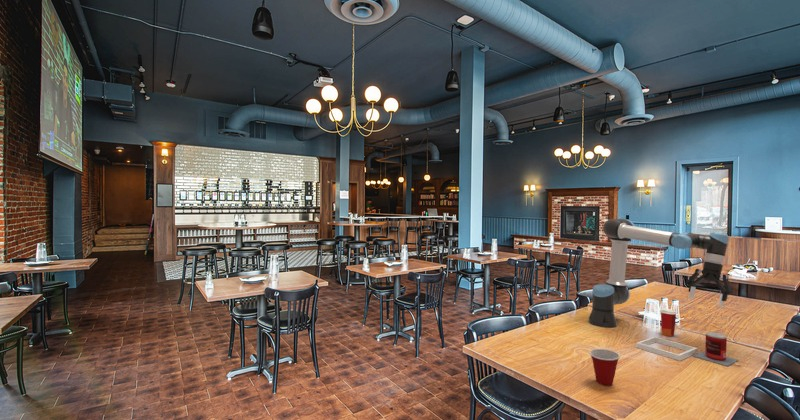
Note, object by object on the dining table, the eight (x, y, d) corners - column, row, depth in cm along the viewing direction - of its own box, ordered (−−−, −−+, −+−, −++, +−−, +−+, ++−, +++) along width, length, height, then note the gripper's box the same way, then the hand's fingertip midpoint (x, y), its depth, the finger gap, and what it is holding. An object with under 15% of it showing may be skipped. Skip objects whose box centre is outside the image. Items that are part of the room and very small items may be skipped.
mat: (693, 356, 180) (693, 355, 180) (704, 351, 187) (704, 350, 187) (727, 366, 169) (727, 365, 169) (738, 360, 176) (738, 359, 176)
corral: (636, 347, 191) (636, 342, 191) (654, 341, 201) (654, 336, 201) (679, 360, 175) (679, 355, 175) (697, 353, 185) (697, 348, 185)
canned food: (721, 355, 181) (721, 333, 181) (729, 362, 173) (730, 338, 173) (702, 353, 183) (702, 331, 183) (709, 359, 176) (710, 336, 176)
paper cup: (670, 332, 215) (671, 308, 215) (679, 337, 208) (680, 312, 208) (656, 332, 216) (656, 308, 216) (664, 336, 209) (665, 311, 209)
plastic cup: (583, 376, 156) (583, 348, 156) (607, 376, 157) (608, 347, 157) (599, 389, 145) (599, 358, 145) (625, 388, 146) (626, 358, 146)
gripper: (747, 269, 183) (738, 311, 184) (692, 258, 206) (684, 296, 207) (738, 267, 181) (729, 310, 181) (683, 256, 204) (675, 294, 204)
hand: (705, 302), depth 194 cm, fingers open, 13 cm apart
